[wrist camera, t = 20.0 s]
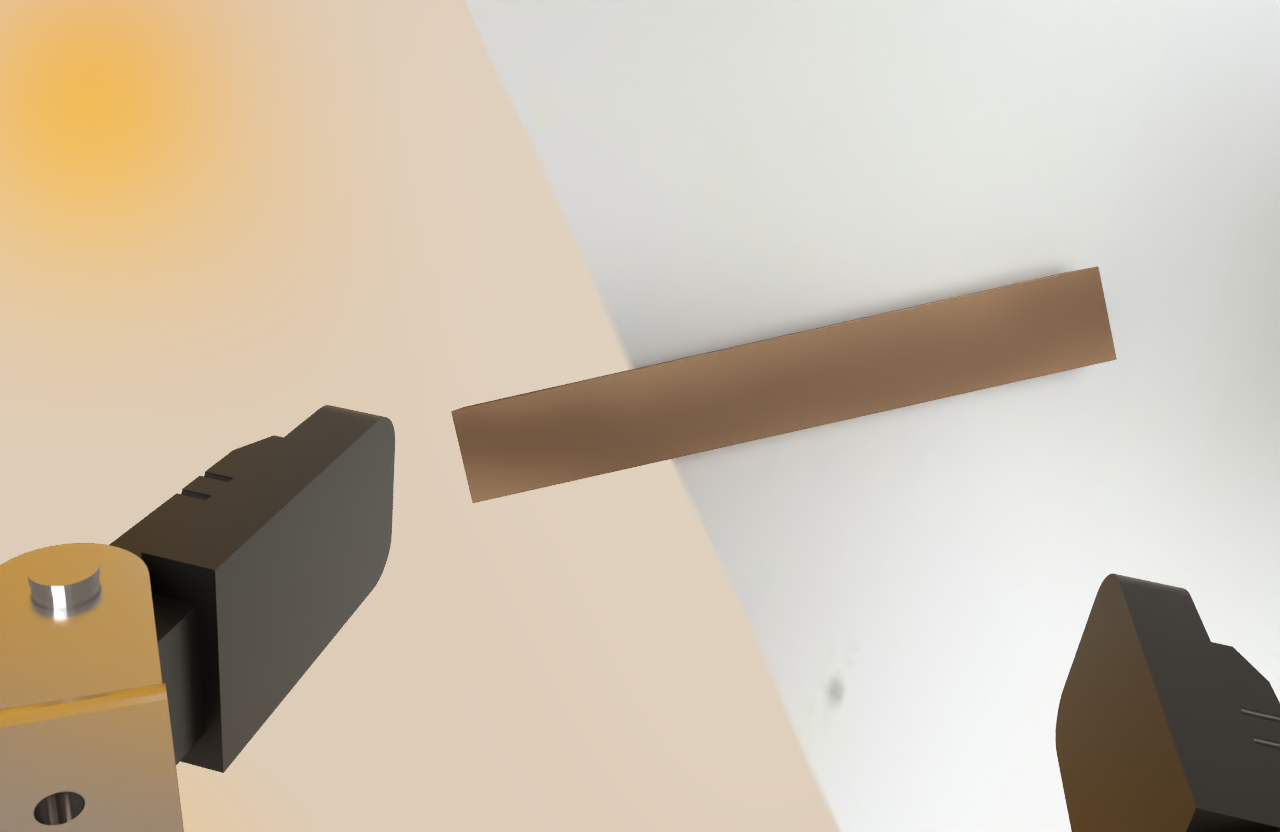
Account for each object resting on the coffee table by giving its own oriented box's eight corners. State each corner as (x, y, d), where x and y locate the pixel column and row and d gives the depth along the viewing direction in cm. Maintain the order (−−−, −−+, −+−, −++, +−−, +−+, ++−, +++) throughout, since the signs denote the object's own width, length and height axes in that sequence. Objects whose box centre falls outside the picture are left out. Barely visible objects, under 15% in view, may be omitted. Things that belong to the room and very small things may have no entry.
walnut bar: (465, 406, 38) (451, 411, 35) (1061, 273, 38) (1097, 266, 35) (485, 491, 38) (472, 502, 35) (1078, 358, 38) (1116, 359, 35)
